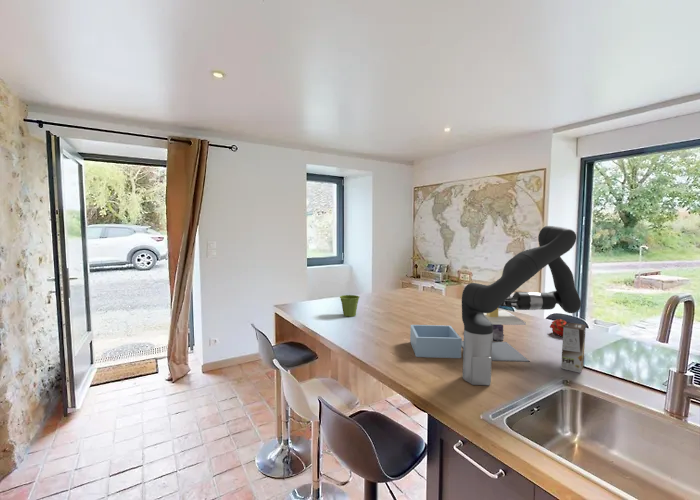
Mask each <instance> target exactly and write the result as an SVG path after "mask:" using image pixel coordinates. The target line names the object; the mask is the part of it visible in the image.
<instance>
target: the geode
mask: <svg viewBox="0 0 700 500" xmlns="http://www.w3.org/2000/svg"><path fill="white" fill-rule="evenodd" d="M492 325H493V324H492ZM504 338H505V334H504V325H493V339H492V341H493V342H504V340H505V339H504Z"/></svg>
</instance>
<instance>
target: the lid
mask: <svg viewBox="0 0 700 500" xmlns="http://www.w3.org/2000/svg"><path fill="white" fill-rule="evenodd" d="M484 315H485V317H486V318H487V319H488V320H489V321H490V322H491V323H492V324H493V325H503V326H504V325H508V326H510V325H511V326H512V325H514V326H515V325H516V326H521V325H522V326H526V325H527V323H526V321H524V320H522V319H521V318H520V317H518V316H516V315H514V314H512V313H511V312H509V311H508V310H502V309H501V310H499V307H498V308H497V309H496V310H495V311H493V312H491V313H484Z"/></svg>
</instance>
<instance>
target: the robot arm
mask: <svg viewBox="0 0 700 500" xmlns="http://www.w3.org/2000/svg"><path fill="white" fill-rule="evenodd" d="M537 237H538V238H537V240H538V245H539V246H538V247H537V246H536V247H533V248H528V249H526V250H522V251H520V252H519V253H517V254H515V255H514V256H513V257H511V258H510V259H508V261H506V263H505V264H504V267H503V269H502V274H501V277H499V279H497V280H496V281H494V282H493V283H490V284H488V285H487V284H482V283H477V282H470V283H468V284H467V285H466V286H465V287H464V288H463V291H462V295H461V320H462V324H463V341H464V347H463V348H462V349H463V350H462V351H463V352H462V355H463V356H462V379H463V381H465V382H467V383H469V384H471V385H473V386H491V382H492V364H493V363H492V362H493V361H492V342H493V340H492V339H493V325H492V323H491V322H490V321H489V320H488V319H487V318H486V317H485V315H484V313H491V312H493V311H495V310H496V309H497V308H498V309H499V307H506V308H507V307H509V308H514V309H515V310H516V311H517V310H518V311H536V310H542V311H543V310H553V309H554V308H555V307H556V306H557V305H559V307H560V308H561V309H562V311H564V312H565V313H567V314H576V313H577V312H579V311H580V309H581V307H582V301H581V298H580V296H579V293H578V290H577V289H576V285H575V280H574V278H575V277H574V274H573V272H572V270H571V268H570V267H569V265H568V264H567V263H566V262H565V261H564V259H563V258H562V257H561V256H564V255H565V254H566V253H568V252H569V251H571V250H572V248H573V247H574V245H575V243H576V241H577V234H576V232H575V231H574V230H573V229H571V228H567V227H562V226H554V225H546V226H544V227H542V228H541V230H540V231H539V232H538V236H537ZM547 266H548V267H549V270H550V272H551V275H552V280H553V285H554V289H555V290H552V291H549V292H535V291H517V290H518V289H519V288H520V287H521V286H523V285H524V284H525V283H526V282H528V281H529V280H530V279H532V278H533V277H534V276H535V275H536V274H537V273H539V272H540V271H541V270H543V268H545V267H547ZM512 294H513V295H512ZM511 295H512V296H511Z"/></svg>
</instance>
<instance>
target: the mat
mask: <svg viewBox="0 0 700 500" xmlns="http://www.w3.org/2000/svg"><path fill="white" fill-rule="evenodd" d="M463 347H464V340H462V345H461V349H463ZM492 362H517V363H518V362H524V363H529V362H530V360H529V359H528V358H526V357H525V356H524V355H523V354H522V353H521V352H519V350H517V349H516V348H515V347H513V346H512V345H511V344H509V343H508V342H507V341H501V342H500V341H492Z"/></svg>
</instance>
